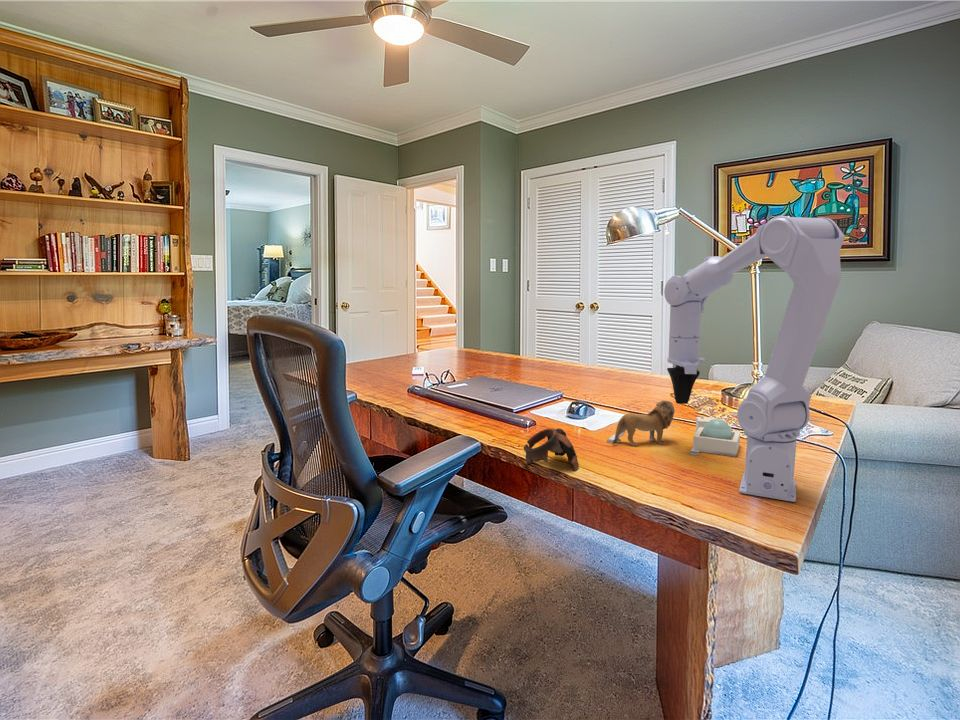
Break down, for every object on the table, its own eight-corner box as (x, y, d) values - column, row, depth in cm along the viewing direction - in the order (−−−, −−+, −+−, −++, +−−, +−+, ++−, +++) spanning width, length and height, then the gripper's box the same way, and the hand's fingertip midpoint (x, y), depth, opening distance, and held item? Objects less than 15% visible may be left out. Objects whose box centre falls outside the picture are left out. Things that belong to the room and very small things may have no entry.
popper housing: (736, 456, 103) (736, 442, 102) (692, 450, 107) (693, 436, 106) (739, 445, 109) (740, 431, 109) (698, 440, 114) (699, 426, 113)
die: (717, 439, 114) (718, 421, 113) (697, 438, 115) (698, 420, 114) (714, 434, 118) (715, 416, 117) (695, 433, 119) (696, 415, 118)
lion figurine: (664, 436, 117) (665, 397, 116) (679, 443, 112) (681, 402, 111) (606, 442, 113) (606, 402, 112) (618, 450, 108) (619, 408, 107)
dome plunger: (729, 448, 104) (730, 423, 104) (701, 444, 107) (702, 420, 106) (731, 441, 109) (733, 417, 108) (705, 437, 111) (706, 414, 111)
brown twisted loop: (579, 480, 94) (556, 443, 92) (534, 494, 98) (512, 459, 96) (587, 444, 104) (567, 411, 103) (547, 458, 108) (527, 426, 107)
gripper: (715, 341, 96) (711, 412, 98) (697, 333, 110) (694, 395, 112) (675, 340, 98) (672, 411, 100) (662, 333, 112) (660, 395, 114)
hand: (681, 403), depth 106 cm, fingers closed
